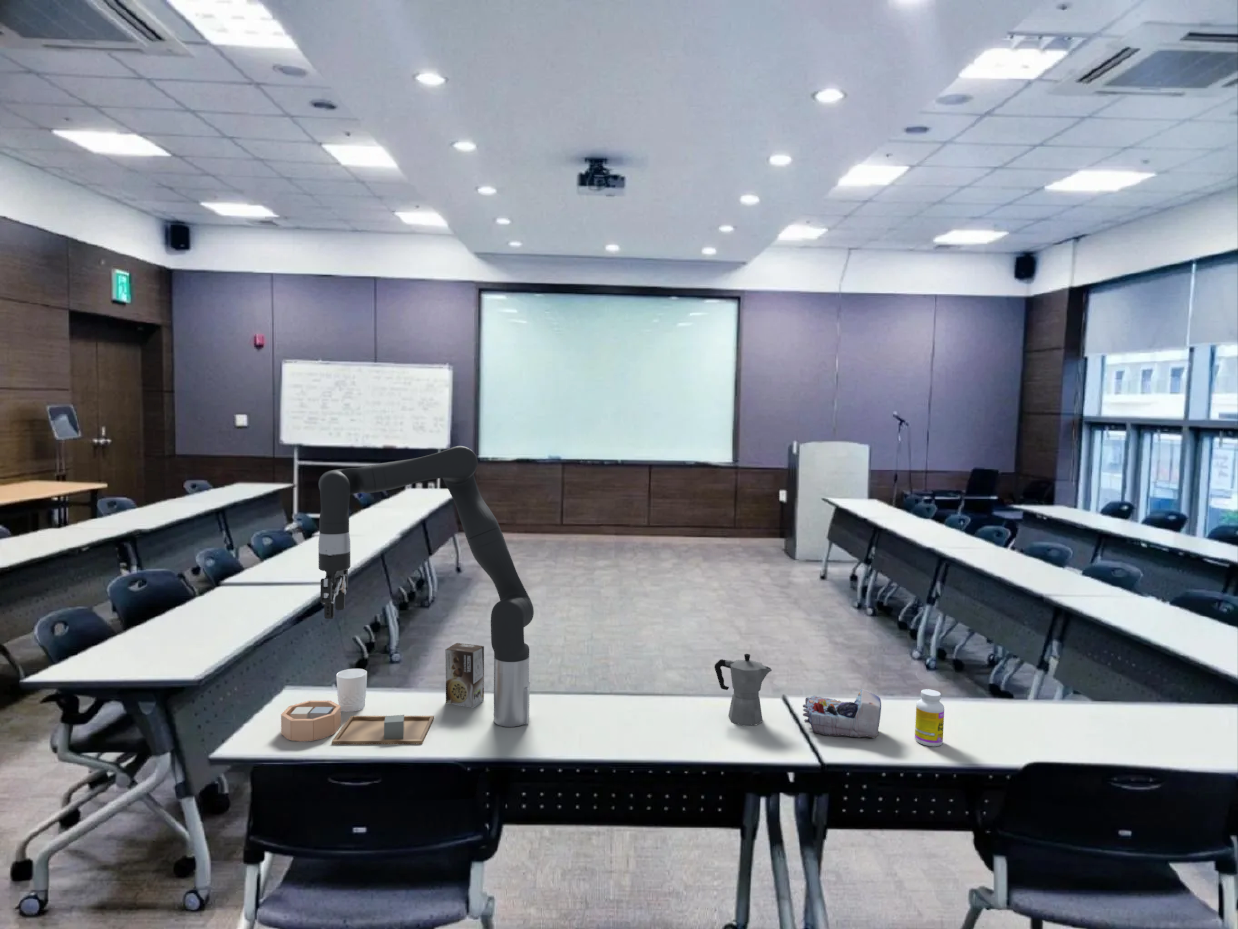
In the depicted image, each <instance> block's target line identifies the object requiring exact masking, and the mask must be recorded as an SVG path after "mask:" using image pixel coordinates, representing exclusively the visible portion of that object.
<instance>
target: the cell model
mask: <svg viewBox="0 0 1238 929" xmlns="http://www.w3.org/2000/svg"><path fill="white" fill-rule="evenodd" d="M856 696H857V697H856V698H855V700H854V702H853V701H841V700H837V699H833V698H828V697H821V696H817V695H812V696H810V697H809V696H808V697H807V696H806V697H805V704H802V707H803V709H802V711H803V713H802V716H804V717H807V718H806V719H804V720H803V721H804V723H806V724H807V723H808V724H810V727H811V730H812V731H813V733H815V734H819V735H824V736H831V737H835V736H845V737H851V738H853V737H854V738H862V737H863V738H864V737H870V738H877V736H878V732H879V727H880V722H881V721H880V720H881V714H882V700H881V698H880V697H879V695H877V694H875V693H873V692H872V691H869V690H867V689H864V688H861V689H860V690H859V691H858V693H857V695H856Z"/></svg>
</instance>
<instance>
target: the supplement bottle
mask: <svg viewBox="0 0 1238 929" xmlns="http://www.w3.org/2000/svg"><path fill="white" fill-rule="evenodd" d="M920 697H921V698H920V699H919V700H917V701H916V707H915V725H914V726H915V727H914V740H915V741H916V742H917V743H919V744H921V745H922V746H923V745H924V746H927V747H939V746H941V745H942V744H943V743H944V726H945V725H944V722H945V705H944V704H943V703H942V702H941V699H942V694H941V692H940V691H938V690H934V689H929V688H927V689H926V688H925V689H924V688H923V689H922V690H921V691H920Z"/></svg>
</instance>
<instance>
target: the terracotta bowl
mask: <svg viewBox="0 0 1238 929" xmlns="http://www.w3.org/2000/svg"><path fill="white" fill-rule="evenodd" d="M297 707H313V709H314V708H315V707H333V711H332V713H331V714H328V715H324V716H321V717H318V718H314V719H293V718H292V717H291V716H290V714H291V713H292V712H293V711H294V710H295V709H296V708H297ZM341 726H342V711H341V706H340V705H339V703H337V702H336V703H335V701H332V700H307V701H303V702H300V703H295V704H292V705H289V706H288V707H287V708H286V709H285V710H284V711H282V712H281V714H280V732H281V733H280V734H281V735H282V736H283V737H284V738H285V739H286V740H289V741H291V742H311V741H318V740H322V739H325V738H328V737H331V736H333V735H335V734H336V732H339V730H340V729H339V728H340V727H341Z"/></svg>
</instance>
